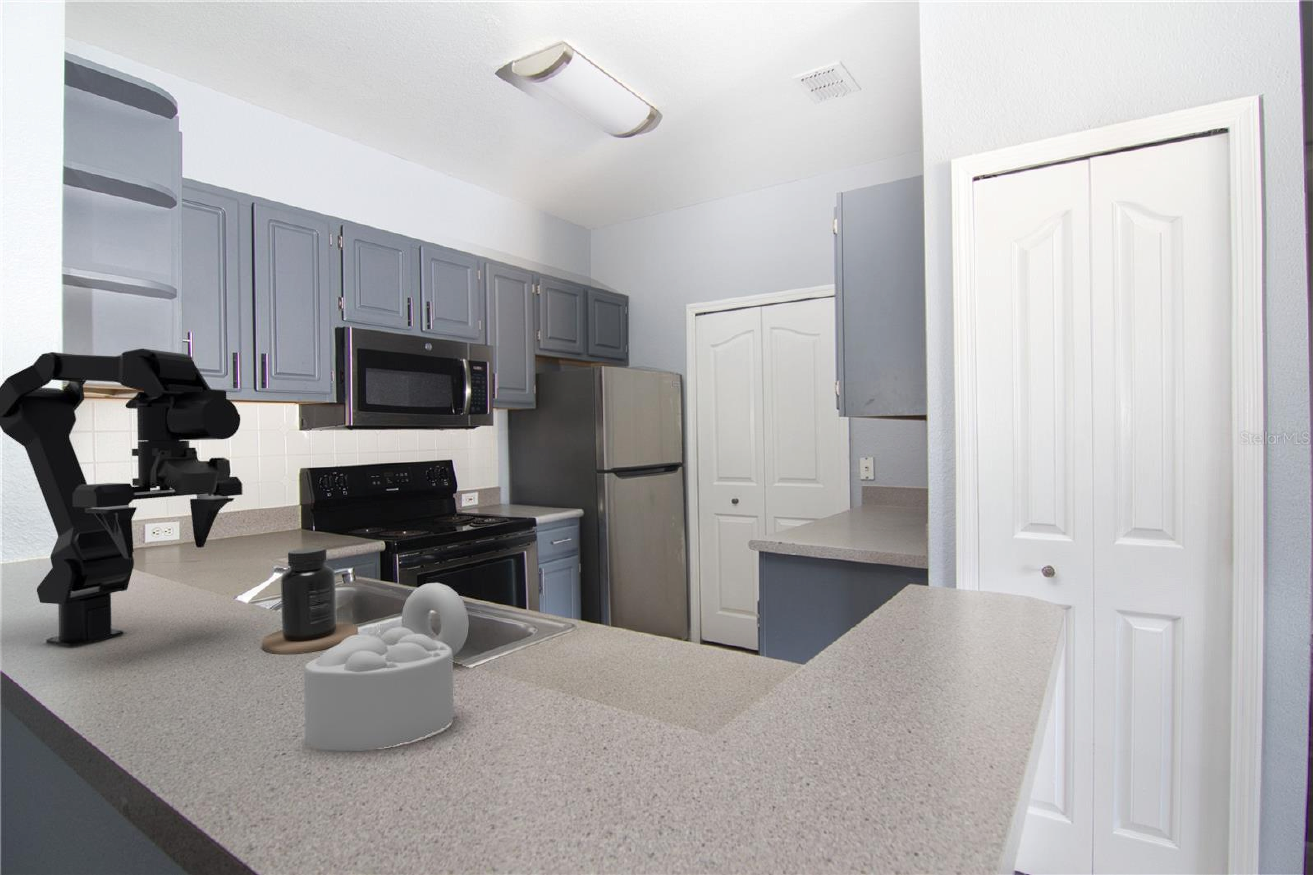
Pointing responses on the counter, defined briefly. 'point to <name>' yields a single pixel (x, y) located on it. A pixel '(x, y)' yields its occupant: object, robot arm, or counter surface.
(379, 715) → the lumpy-topped squat cylinder
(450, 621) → the donut
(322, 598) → the supplement bottle
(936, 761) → the counter surface
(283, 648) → the walnut trivet
